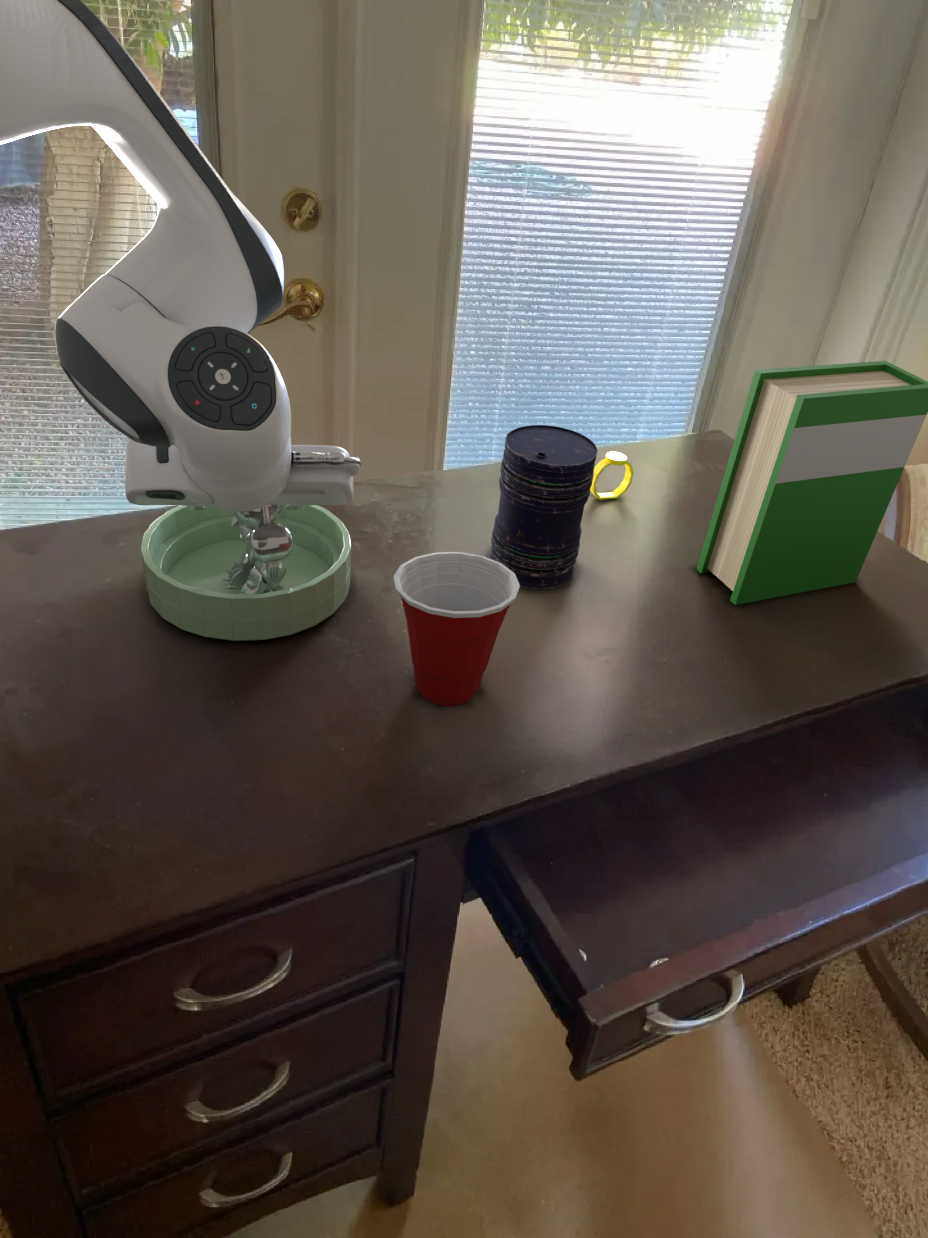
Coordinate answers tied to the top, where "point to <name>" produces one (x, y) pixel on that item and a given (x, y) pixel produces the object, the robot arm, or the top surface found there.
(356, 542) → the top surface
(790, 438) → the hardback book
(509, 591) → the plastic cup
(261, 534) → the robot toy
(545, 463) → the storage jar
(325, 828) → the top surface
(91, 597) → the top surface
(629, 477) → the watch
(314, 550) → the bowl
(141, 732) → the top surface
